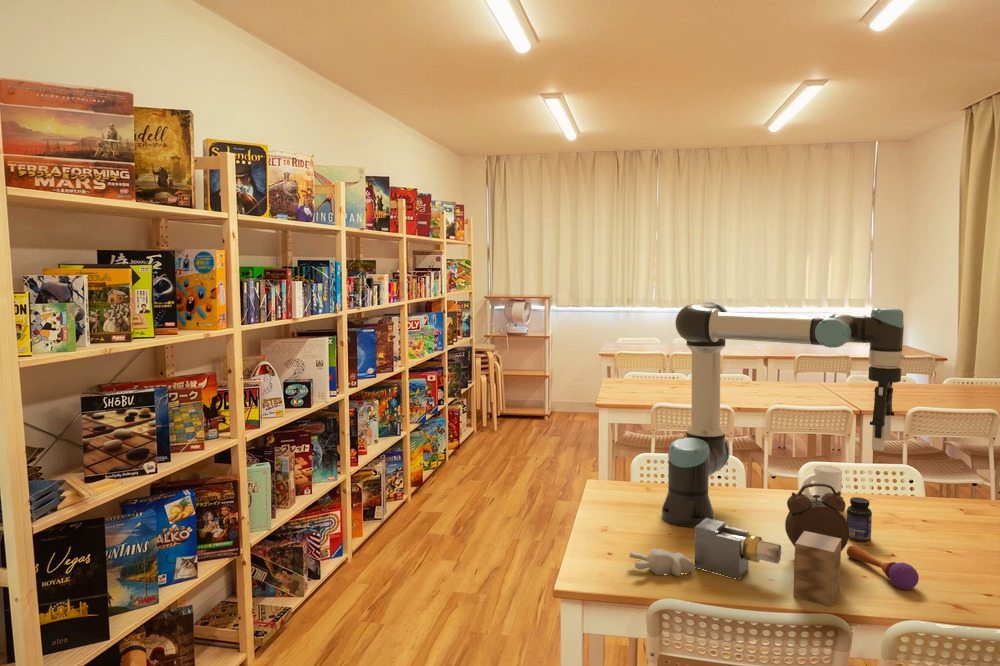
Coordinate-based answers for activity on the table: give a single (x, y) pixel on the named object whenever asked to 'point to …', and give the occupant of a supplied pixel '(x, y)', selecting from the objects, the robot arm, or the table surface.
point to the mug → (823, 480)
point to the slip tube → (757, 548)
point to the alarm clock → (817, 515)
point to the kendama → (888, 569)
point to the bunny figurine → (663, 562)
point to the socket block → (817, 568)
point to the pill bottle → (859, 520)
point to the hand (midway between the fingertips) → (881, 444)
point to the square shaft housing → (719, 549)
